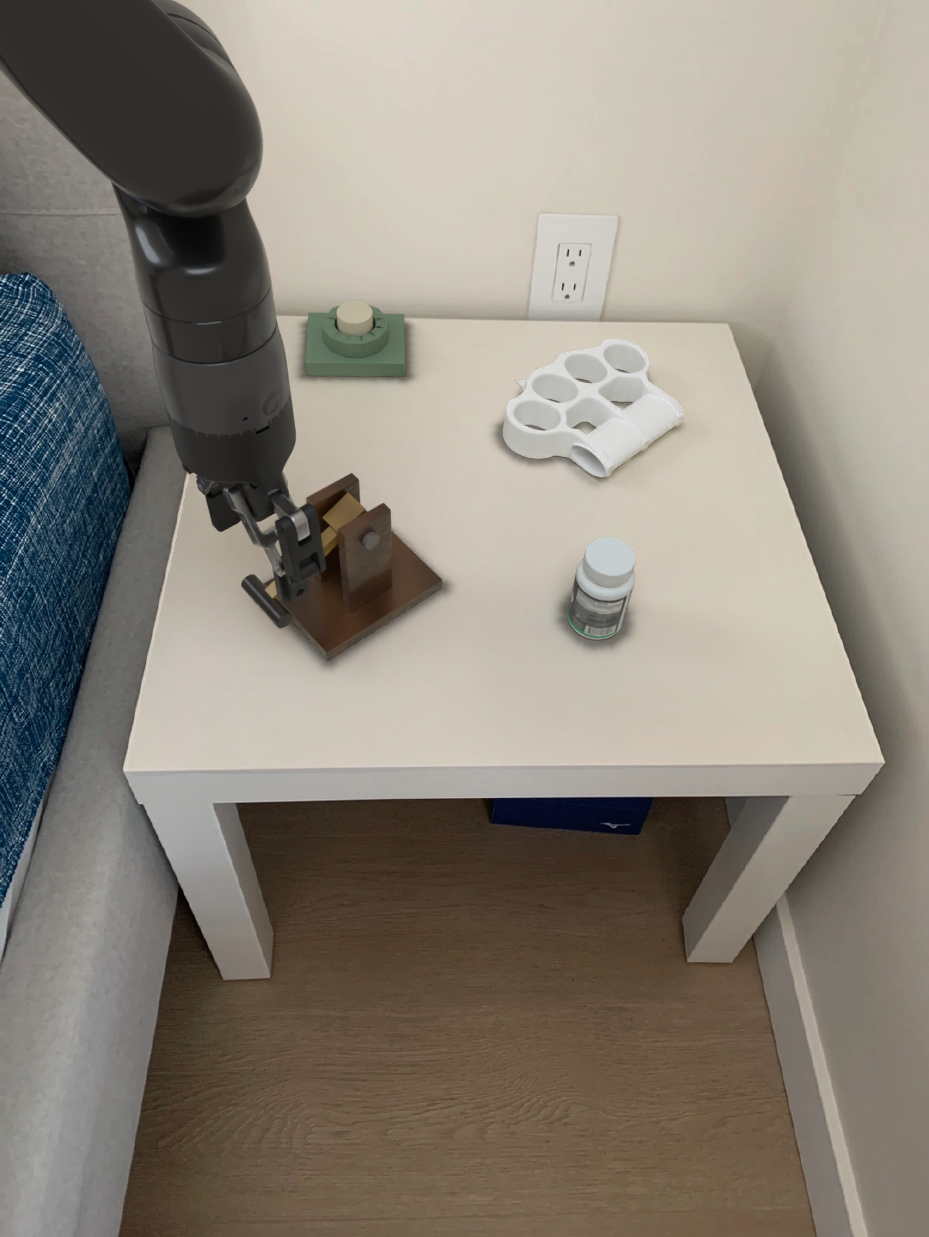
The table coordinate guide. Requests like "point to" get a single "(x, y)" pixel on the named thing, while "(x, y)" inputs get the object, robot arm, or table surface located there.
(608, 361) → the knuckle duster
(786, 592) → the table surface
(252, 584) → the switch lever
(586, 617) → the pill bottle
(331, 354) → the button block
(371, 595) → the switch bracket
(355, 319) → the button
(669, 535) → the table surface
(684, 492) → the table surface
